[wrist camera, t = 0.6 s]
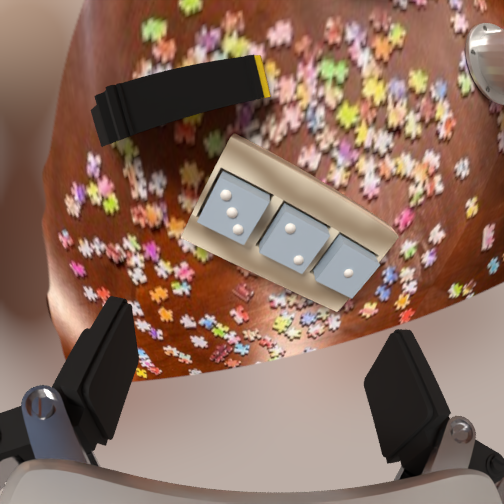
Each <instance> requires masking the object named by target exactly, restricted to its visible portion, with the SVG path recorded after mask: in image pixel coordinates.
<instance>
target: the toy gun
mask: <svg viewBox="0 0 504 504" xmlns="http://www.w3.org/2000/svg"><path fill="white" fill-rule="evenodd" d="M267 97H271V95H270V91H269V87H268V83H267V79H266V74H265V70H264V66H263V62H262V58H261V56H260V55H255V56H254V55H248V56H244V57H238V58H231V59H224V60H218V61H212V62H206V63H200V64H195V65H190V66H186V67H181V68H176V69H172V70H168V71H164V72H160V73H156V74H152V75H148V76H145V77H141V78H137V79H134V80H131V81H127V82H124V83H119V84H116V85H111V86H108V87H106V90H105V92H103V93H101V94H98V95H96V96H95V100H96V103H97V105H96V106H95V107H94V108H93V109H92V110H91V113H92V116H93V120H94V123H95V127H96V130H97V133H98V137H99V140H100V143H101V146H102V147H103V146H105V145H108V144H111V143H113V142H116V141H118V140H121V139H124V138H126V137H129V136H132V135H134V134H137V133H140V132H143V131H145V130H148V129H151V128H154V127H157V126H160V125H163V124H166V123H169V122H172V121H176V120H179V119H182V118H185V117H189V116H192V115H196V114H199V113H203V112H206V111H210V110H214V109H218V108H222V107H225V106H230V105H234V104H238V103H242V102H247V101H251V100H256V99H261V98H267Z"/></svg>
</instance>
